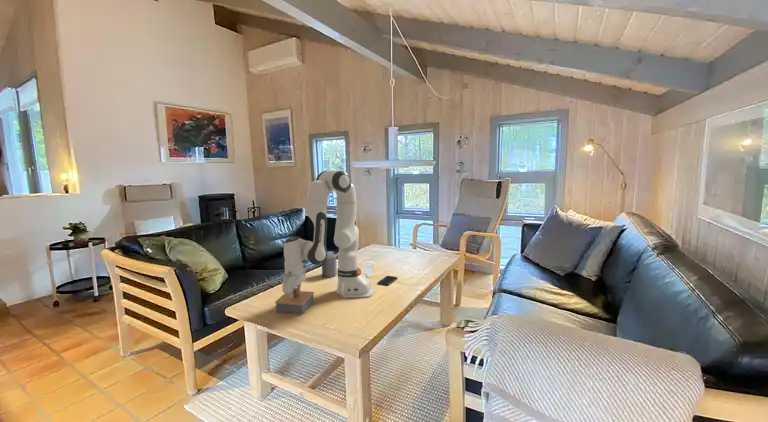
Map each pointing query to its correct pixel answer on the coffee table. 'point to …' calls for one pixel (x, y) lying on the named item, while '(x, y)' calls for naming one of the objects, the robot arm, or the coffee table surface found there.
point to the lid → (295, 298)
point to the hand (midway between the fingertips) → (295, 294)
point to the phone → (387, 280)
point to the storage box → (294, 307)
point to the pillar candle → (329, 266)
